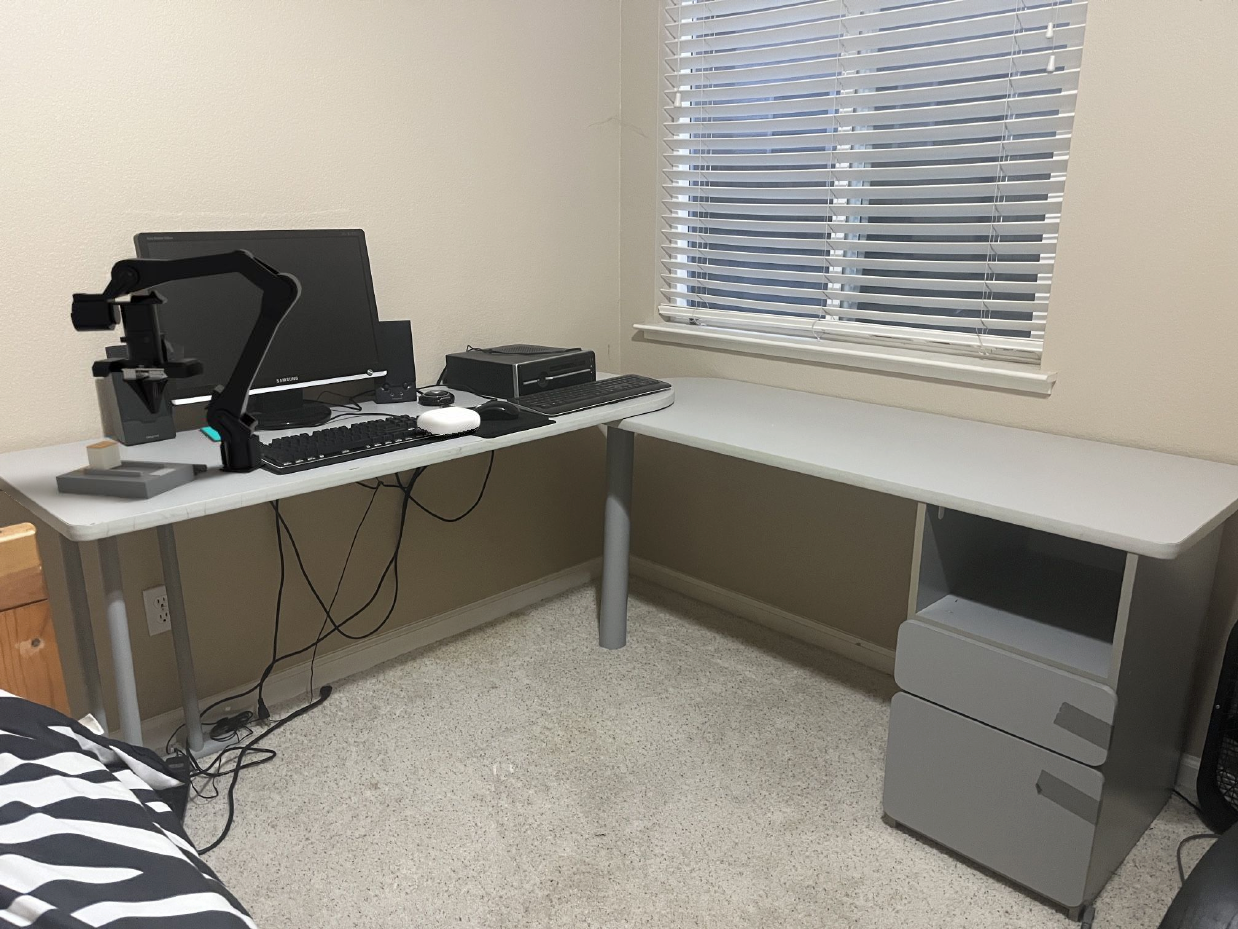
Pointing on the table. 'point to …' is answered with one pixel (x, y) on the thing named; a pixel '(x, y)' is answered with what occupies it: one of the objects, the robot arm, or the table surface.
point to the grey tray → (126, 479)
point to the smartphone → (211, 434)
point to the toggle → (103, 455)
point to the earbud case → (448, 420)
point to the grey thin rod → (201, 467)
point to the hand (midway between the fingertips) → (155, 413)
